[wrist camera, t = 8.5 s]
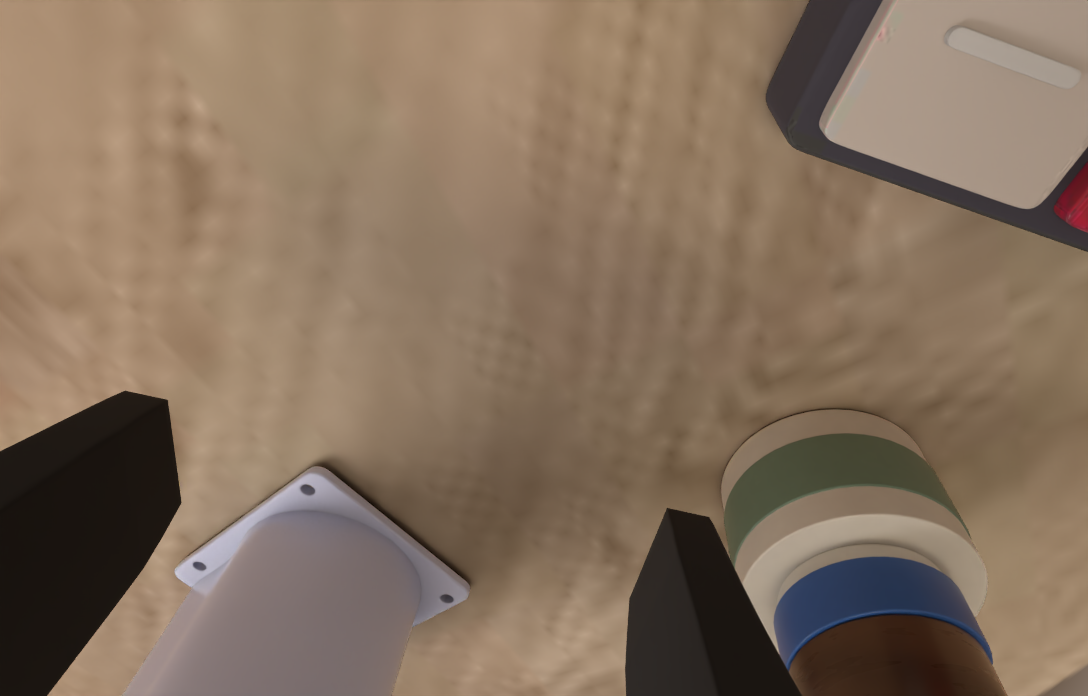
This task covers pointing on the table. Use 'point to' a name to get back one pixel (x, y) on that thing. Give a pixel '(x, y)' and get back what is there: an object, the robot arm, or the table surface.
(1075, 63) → the calculator
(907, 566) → the bottle
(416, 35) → the table surface
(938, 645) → the brown cylinder
